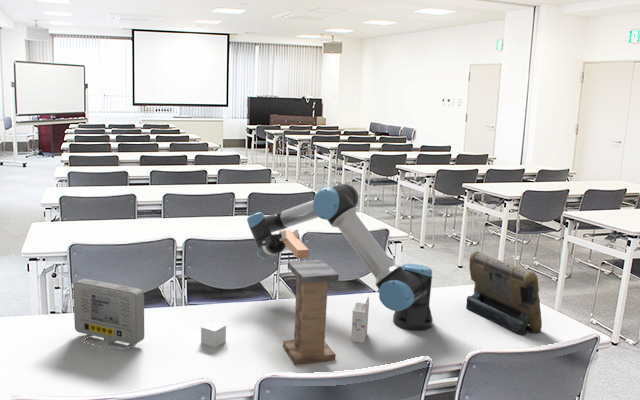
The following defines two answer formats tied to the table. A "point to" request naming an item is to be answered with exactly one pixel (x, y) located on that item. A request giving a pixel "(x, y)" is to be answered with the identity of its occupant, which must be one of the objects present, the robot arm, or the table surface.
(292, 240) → the bar
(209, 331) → the white cube
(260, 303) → the table surface
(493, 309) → the tablet
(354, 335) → the ink cartridge box
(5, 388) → the table surface
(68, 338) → the table surface
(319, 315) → the wooden pedestal stand
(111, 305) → the network device
